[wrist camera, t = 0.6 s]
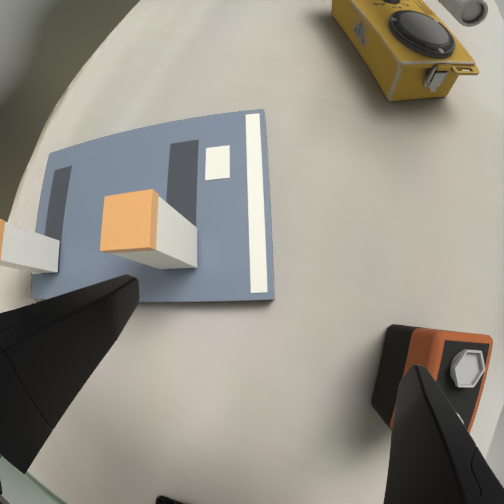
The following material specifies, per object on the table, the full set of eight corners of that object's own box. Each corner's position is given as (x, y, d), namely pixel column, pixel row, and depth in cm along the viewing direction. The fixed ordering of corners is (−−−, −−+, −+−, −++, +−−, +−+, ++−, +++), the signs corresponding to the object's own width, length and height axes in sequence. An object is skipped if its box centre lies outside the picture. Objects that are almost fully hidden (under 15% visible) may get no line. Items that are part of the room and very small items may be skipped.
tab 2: (197, 268, 23) (149, 247, 15) (159, 270, 23) (100, 250, 15) (197, 227, 23) (152, 188, 15) (160, 230, 24) (104, 196, 16)
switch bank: (274, 299, 24) (273, 299, 22) (40, 299, 27) (30, 298, 25) (265, 118, 26) (263, 108, 25) (57, 158, 29) (48, 153, 28)
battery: (434, 329, 21) (505, 336, 12) (416, 408, 20) (473, 454, 11) (386, 323, 22) (443, 330, 12) (368, 406, 21) (408, 459, 11)
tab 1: (57, 272, 25) (-7, 258, 17) (37, 273, 25) (-25, 260, 17) (60, 240, 25) (-2, 218, 17) (39, 242, 26) (-20, 222, 18)
